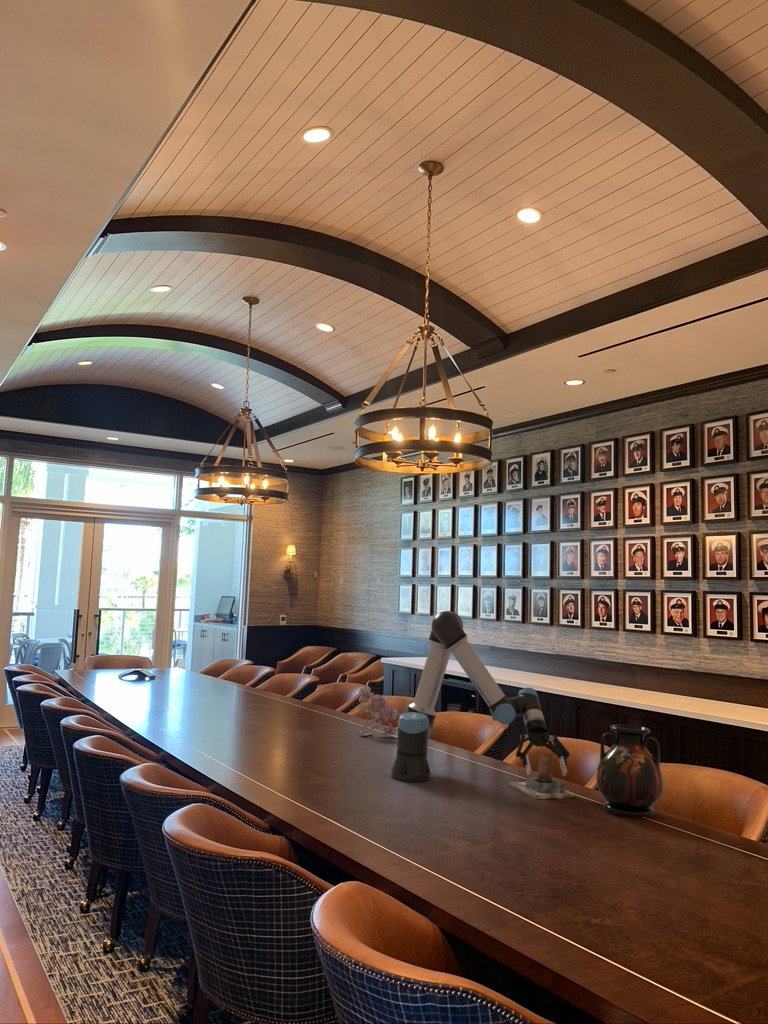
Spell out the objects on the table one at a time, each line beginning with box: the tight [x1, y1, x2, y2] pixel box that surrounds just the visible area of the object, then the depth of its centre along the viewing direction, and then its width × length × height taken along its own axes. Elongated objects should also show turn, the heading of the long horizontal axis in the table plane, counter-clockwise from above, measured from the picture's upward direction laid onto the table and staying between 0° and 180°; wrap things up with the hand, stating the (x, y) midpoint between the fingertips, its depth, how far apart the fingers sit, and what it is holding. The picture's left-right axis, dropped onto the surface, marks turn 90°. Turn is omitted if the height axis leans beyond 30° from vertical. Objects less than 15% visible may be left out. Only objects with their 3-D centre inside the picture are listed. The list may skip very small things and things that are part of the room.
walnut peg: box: [537, 753, 554, 783], centre depth 282 cm, size 5×5×12 cm
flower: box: [356, 684, 399, 737], centre depth 384 cm, size 20×22×25 cm
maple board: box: [509, 777, 577, 800], centre depth 284 cm, size 16×20×4 cm
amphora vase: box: [595, 723, 664, 819], centre depth 261 cm, size 22×22×28 cm
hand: (547, 773), depth 280 cm, fingers open, 13 cm apart
